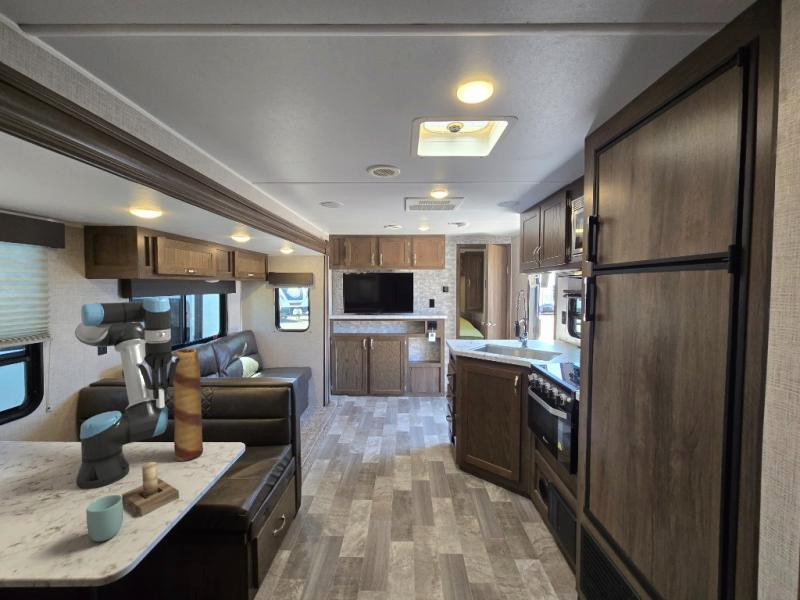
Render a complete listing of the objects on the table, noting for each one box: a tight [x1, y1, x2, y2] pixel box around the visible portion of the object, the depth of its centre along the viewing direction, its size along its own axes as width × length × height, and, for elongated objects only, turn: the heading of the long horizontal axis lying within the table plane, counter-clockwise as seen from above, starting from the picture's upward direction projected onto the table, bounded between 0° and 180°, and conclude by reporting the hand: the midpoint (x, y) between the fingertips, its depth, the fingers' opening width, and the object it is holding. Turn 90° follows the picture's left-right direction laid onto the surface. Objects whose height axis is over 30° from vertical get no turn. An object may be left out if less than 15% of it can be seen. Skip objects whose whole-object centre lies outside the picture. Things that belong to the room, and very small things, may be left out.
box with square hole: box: [121, 477, 180, 517], centre depth 117 cm, size 14×11×2 cm
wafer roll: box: [172, 348, 204, 462], centre depth 145 cm, size 10×11×45 cm
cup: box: [85, 494, 124, 543], centre depth 100 cm, size 8×8×10 cm
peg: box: [141, 461, 158, 499], centre depth 117 cm, size 4×4×12 cm
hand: (160, 406), depth 123 cm, fingers closed
